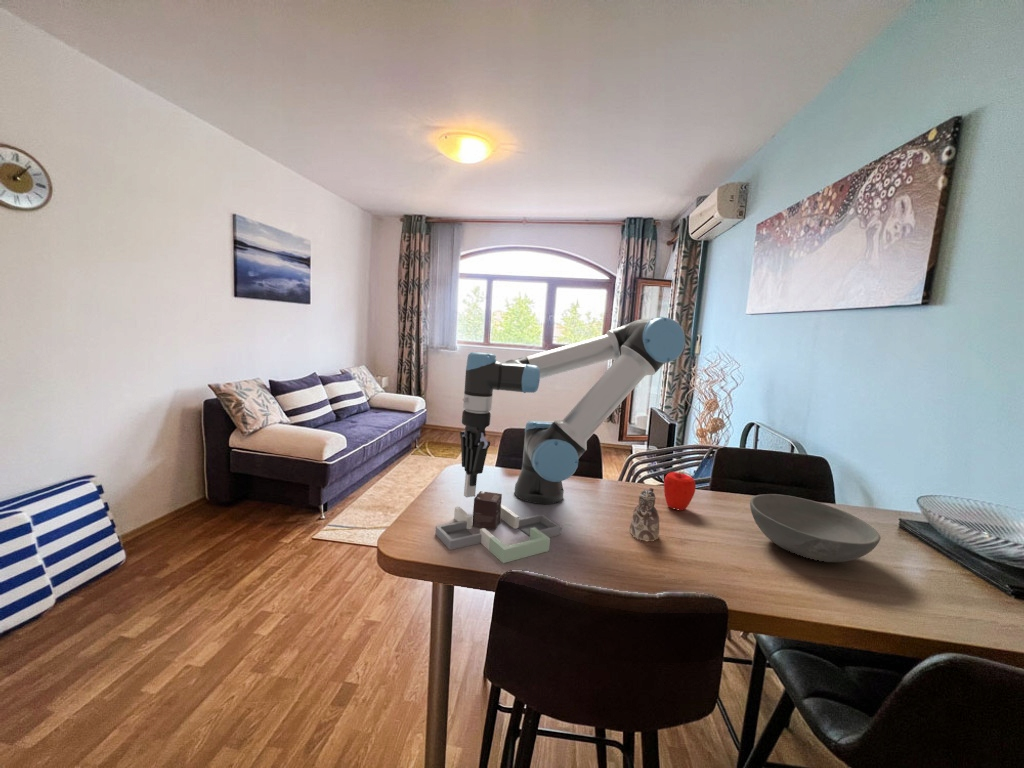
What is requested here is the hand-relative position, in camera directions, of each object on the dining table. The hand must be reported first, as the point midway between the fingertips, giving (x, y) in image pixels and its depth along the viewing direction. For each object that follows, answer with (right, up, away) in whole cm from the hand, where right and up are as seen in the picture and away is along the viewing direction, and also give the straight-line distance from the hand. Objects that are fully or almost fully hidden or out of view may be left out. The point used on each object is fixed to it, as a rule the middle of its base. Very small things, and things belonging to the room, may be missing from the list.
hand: (469, 495), depth 114 cm
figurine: (+45, -9, -6) cm, 47 cm away
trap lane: (+8, -6, -12) cm, 16 cm away
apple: (+62, -8, +14) cm, 64 cm away
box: (+5, -5, -7) cm, 10 cm away
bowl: (+85, -12, -8) cm, 86 cm away
